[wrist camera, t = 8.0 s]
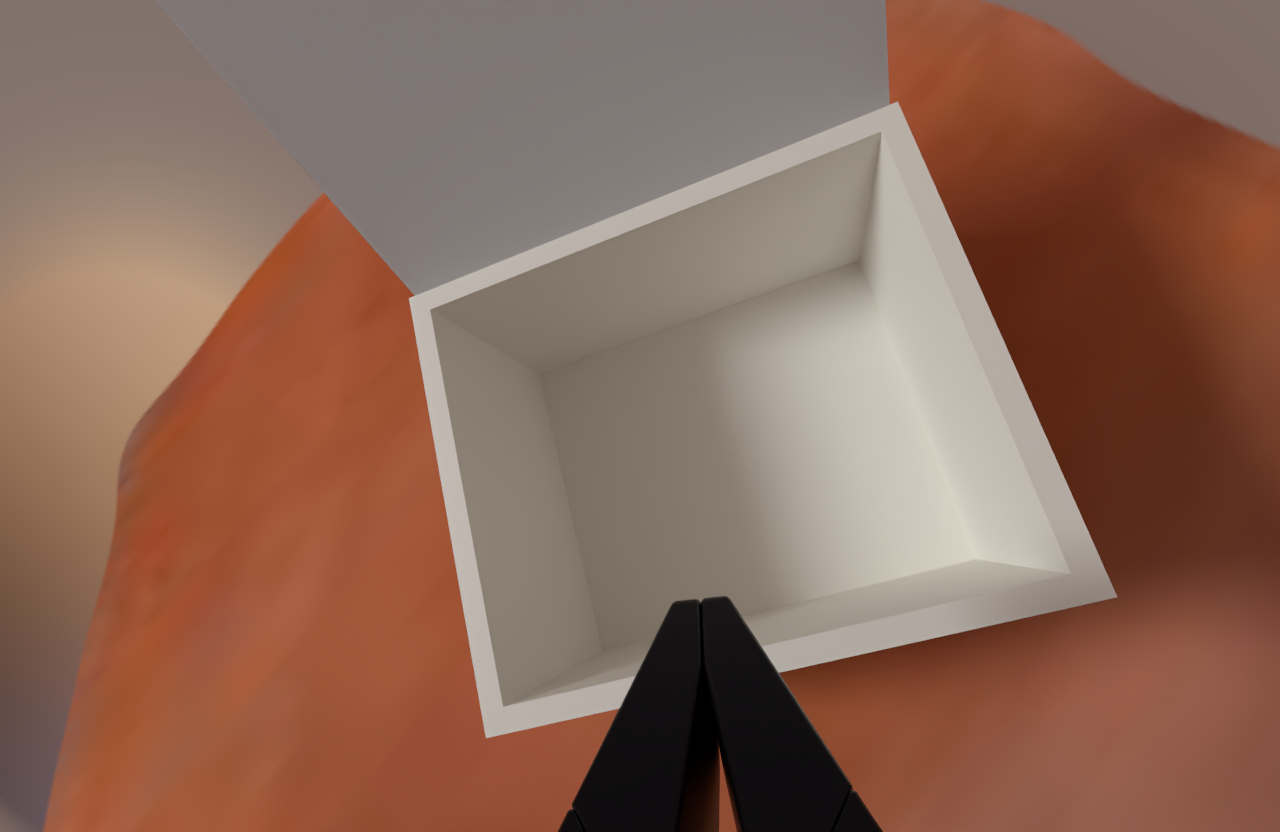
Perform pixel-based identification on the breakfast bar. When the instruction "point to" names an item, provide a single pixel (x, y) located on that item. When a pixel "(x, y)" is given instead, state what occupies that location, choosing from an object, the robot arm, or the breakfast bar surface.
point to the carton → (740, 431)
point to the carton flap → (531, 105)
